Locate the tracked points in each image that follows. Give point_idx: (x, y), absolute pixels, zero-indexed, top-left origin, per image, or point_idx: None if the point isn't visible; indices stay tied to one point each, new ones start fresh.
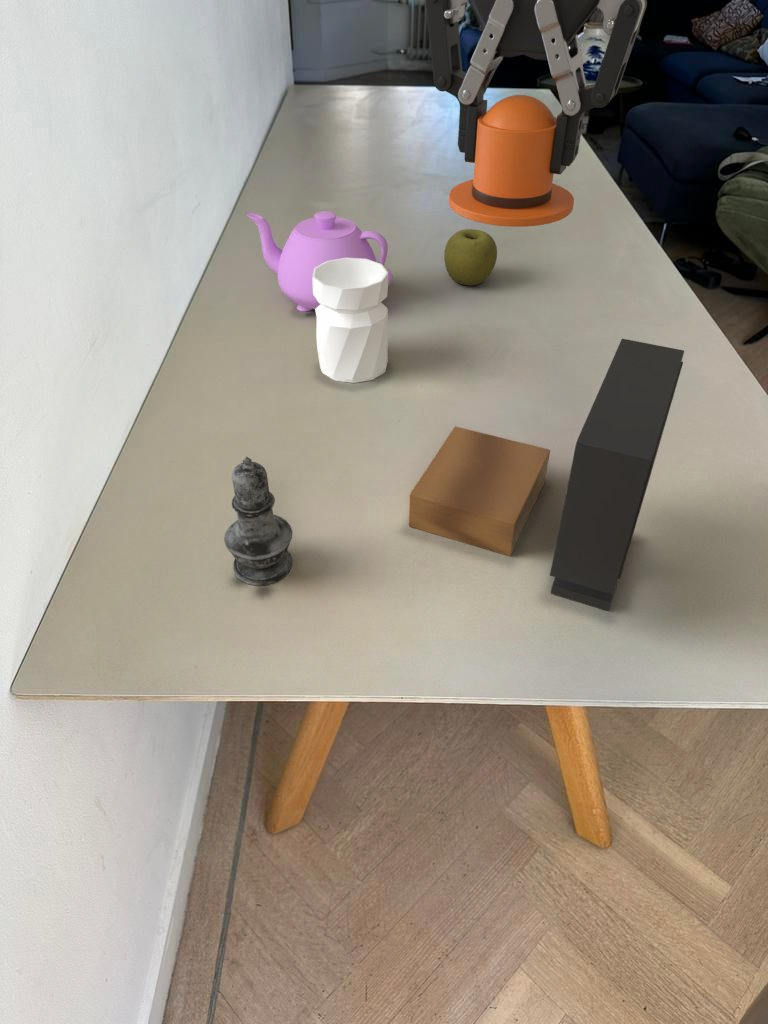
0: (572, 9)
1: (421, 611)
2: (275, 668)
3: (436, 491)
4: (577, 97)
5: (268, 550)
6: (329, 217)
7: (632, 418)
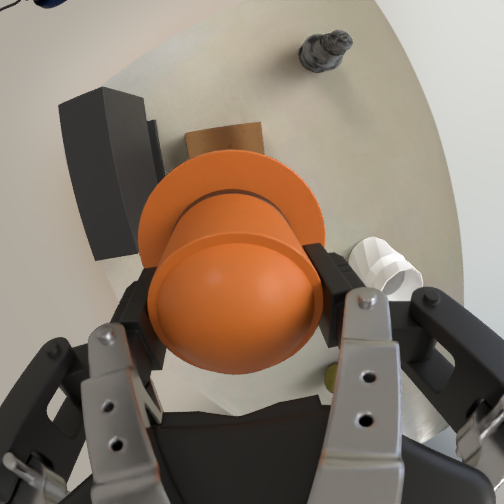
0: None
1: (213, 67)
2: (262, 6)
3: (245, 133)
4: (91, 348)
5: (309, 42)
6: None
7: (81, 141)
